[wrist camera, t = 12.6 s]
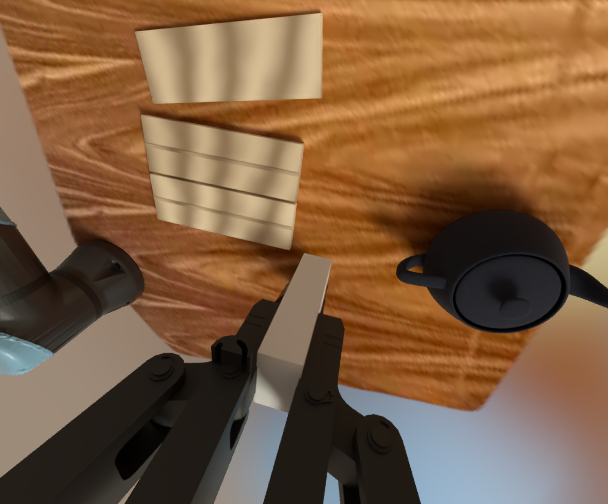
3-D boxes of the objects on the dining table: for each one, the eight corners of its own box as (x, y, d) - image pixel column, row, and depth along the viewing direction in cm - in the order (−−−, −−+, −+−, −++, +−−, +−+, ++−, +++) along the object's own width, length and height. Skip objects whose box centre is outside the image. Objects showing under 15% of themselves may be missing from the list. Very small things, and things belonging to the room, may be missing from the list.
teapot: (386, 288, 45) (389, 345, 34) (401, 196, 37) (411, 233, 27) (563, 310, 40) (630, 384, 29) (622, 209, 32) (740, 260, 22)
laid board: (154, 169, 44) (149, 171, 43) (146, 114, 40) (140, 115, 39) (297, 199, 41) (295, 202, 40) (304, 143, 37) (302, 144, 36)
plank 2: (162, 216, 48) (157, 219, 47) (155, 171, 44) (149, 174, 43) (291, 246, 45) (289, 250, 44) (296, 202, 41) (294, 205, 40)
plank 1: (159, 103, 39) (153, 103, 38) (142, 33, 35) (135, 31, 34) (322, 98, 34) (321, 98, 33) (323, 16, 30) (321, 12, 29)
